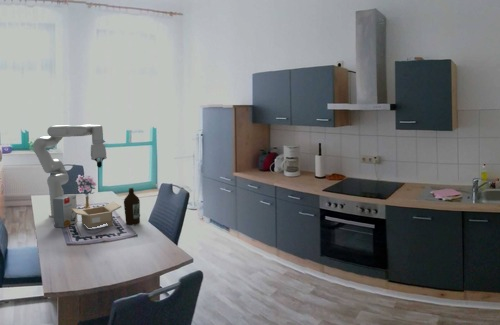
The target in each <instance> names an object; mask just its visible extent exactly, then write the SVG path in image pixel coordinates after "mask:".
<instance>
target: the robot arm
mask: <svg viewBox="0 0 500 325" xmlns="http://www.w3.org/2000/svg"><path fill="white" fill-rule="evenodd" d="M103 132H104V130H103V126H102V125H101V124H82V125H70V124H66V125H65V124H64V125H61V124H60V125H59V124H58V125H57V124H56V125H51V126H49V127H48V128H47V134H48V135H47V136H40V137H37V138H36V139H35V140H34V142H33V143H32V147H33V148H32V149H33V151H34V152H33V153H34V154H35V155H36V157H37V159H38V161H39V163H40V166H41V168H42V169H43V171H44V172H45V173H46V174H51V175H49V176H48V177H47V178H46V183H47V187H48V191H49V202H50V213H49V214H48V216H49V218H50V217H51V218H54V210H53V199H54V198H57V197H60V196H63V195H65V194H64V192H65V191H64V189H63V187H62V186H63V185H66V184H67V183H68V182H69V180H70V178H69V177H70V176H69V174H68V171H67V170H66V167H65V165H64V163H63V161H61V160H60V159H57V158H54V159H53V158H52V156H51V153H50V152H49V151H48V150H47V148H53V147H55V146H57V144H58V143H60V141H61V140H62V139H63V138H65V137H66V138H67V137H68V138H70V137H86V136H91V141H92V142H91V145H90V160H92V161H95V162H96V166H97V168H99V169H100V168H102V166H103V165H102V162H103V161H104V160H106V159H107V150H106V149H107V148H106V145H105V143H106V140H105V139H104V133H103Z"/></svg>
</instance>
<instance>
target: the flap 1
mask: <svg viewBox="0 0 500 325" xmlns="http://www.w3.org/2000/svg"><path fill="white" fill-rule="evenodd" d="M71 210H72V211H73V212H74V213H75V214H77V216H78V215H80V216H81V215H84V216H87V214H86V213H85V212H84V211H82V210H83V209H81V208H80V209H79V208H77V209H75V208H71Z"/></svg>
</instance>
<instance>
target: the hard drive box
mask: <svg viewBox="0 0 500 325" xmlns="http://www.w3.org/2000/svg"><path fill="white" fill-rule="evenodd" d="M71 208H75V209H78V208H77V195H76V194H73V193H72V194H69V193H67V194H64V195H63V196H60V197H57V198H54V199H53V210H54V217H53V222H54V225H53V226H54V228H66V227H69V226H71V225H73V224H76V223H78V214H75V213H74V212H73V211H72V210H71Z"/></svg>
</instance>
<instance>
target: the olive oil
mask: <svg viewBox="0 0 500 325" xmlns="http://www.w3.org/2000/svg"><path fill="white" fill-rule="evenodd" d="M134 192H135V190H134V187H129V188H128V194H127V195H126V196H125V198H124V200H123V208H124V216H125V224H126V225H128V226H136V225H138V224H140V223H141V212H140V211H141V209H140V208H141V207H140V206H141V204H140V203H141V202H140V198H139V197H138V195H136V194H135V193H134Z"/></svg>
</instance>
